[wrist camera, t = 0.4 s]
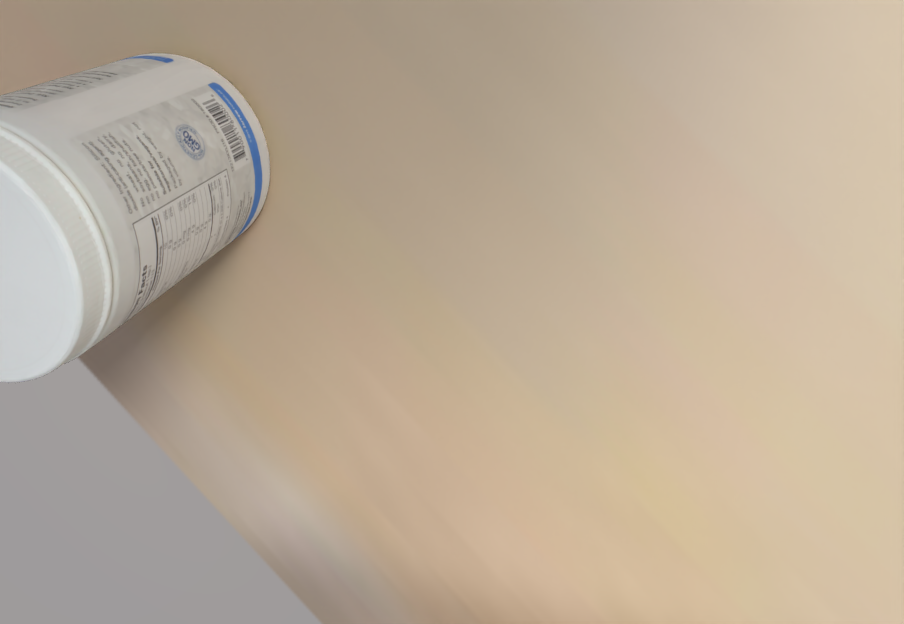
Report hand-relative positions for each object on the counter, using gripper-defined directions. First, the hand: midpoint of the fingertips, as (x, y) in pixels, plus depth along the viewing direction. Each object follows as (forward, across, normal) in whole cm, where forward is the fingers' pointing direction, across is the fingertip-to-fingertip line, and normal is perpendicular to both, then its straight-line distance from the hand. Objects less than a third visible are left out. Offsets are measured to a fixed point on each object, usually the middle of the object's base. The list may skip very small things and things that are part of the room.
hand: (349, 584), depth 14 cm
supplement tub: (+28, -15, +1) cm, 32 cm away
